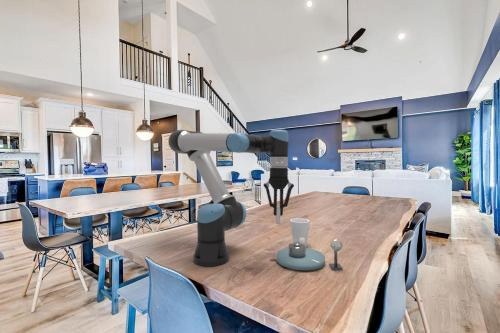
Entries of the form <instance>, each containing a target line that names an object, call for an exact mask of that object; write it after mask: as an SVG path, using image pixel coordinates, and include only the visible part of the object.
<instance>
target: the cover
mask: <svg viewBox="0 0 500 333" xmlns="http://www.w3.org/2000/svg"><path fill="white" fill-rule="evenodd" d="M288 248H289V256H290V257H293V258H304V257H305V256H306V248H307V246H305V245H304V244H301V243H299V242H294V243H293V242H292V243H289V244H288Z"/></svg>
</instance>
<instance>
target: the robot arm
mask: <svg viewBox="0 0 500 333" xmlns="http://www.w3.org/2000/svg"><path fill="white" fill-rule="evenodd" d="M167 140H168V147H169V148H170V150H172V152H174V153H177V154H182V155H183V154H184V155H185V154H186V155H187V157H188V158H189V160H190V161H191V162H193V163H194V164H195V167H196V168H197V172H199V175H200V176H201V179H202V181H203V183H204V185H205V187H206V189H207V191H208V193H209V196H210V198H211V200H212V202H213V203H210V204H209V203H207V204H204V205H202V206H200V207H199V208H198V209H197V213H196V214H197V217H196V221H197V222H196V224H197V226H196V227H197V244H196V247H195V251H194V253H193V263H194V264H196V265H197V266H200V267H218V266H221V265H223V264H226V263H227V262H228V261H229V259H230V254H229V252H230V251H229V250H228V247H227V243H226V232H227V231H229V230H232V229H236V228H238V227H239V226H241V225H243V224H244V222H245V221H246V217H247V210H246V207H245V205H244V204H243V203H242V202H240V201H238V200H237V199H236V197H235V196H234V195H232V194H230V192H229V190H228V189H227V187H226V185H225V182H224V180H223V179H222V176H221V174H220V173H219V170H218V169H217V166H216V165H215V164H216V163H215V162H214V161H213V160H214V159H212V156H211V155H210V153H211V152H225V153H226V152H227V153H231V152H232V153H236V154H237V153H238V154H240V153H241V154H242V153H248V154H269V167H270V168H269V179H268V180H267V181H266V183H263V187H264V189H265V191H266V196H267V199H268V204H269V207H272V208H273V215H274V216H275V223H276V224H277V225H280V224H281V216H283V215H284V208H286V207H288V204H289V202H290V201H289V200H290V198H291V193H292V190H293V189H294V187H295V185H294V183H291V182H290V181H289V180H290V179H289V169H288V166H289V131H287V130H286V129H272V130H270V131H269V134H268V135H257V134H249V133H243V132H231V133H229V132H227V133H221V132H220V133H215V132H213V133H212V132H210V133H209V132H208V133H207V132H201V131H195V130H194V131H193V130H185V129H177V130H175V131H173V132H171V133H170V134H169V137H168V139H167ZM270 186H271V187H272V189H273V200H272V196H271V192H270V189H269V187H270ZM286 187H287V190H286V195H285V198H284V189H286ZM278 190H279V206H278Z"/></svg>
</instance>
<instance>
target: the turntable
mask: <svg viewBox="0 0 500 333" xmlns="http://www.w3.org/2000/svg"><path fill="white" fill-rule="evenodd" d="M299 243H301V244H304V245H305V238H299ZM276 262H277V263H278V264H279V265H281V266H283V267H285V268H287V269H291V270H297V271H313V270H318V269H321V268H322V267H324V266H325V263H326V256H325V254H324V253H322V252H321V251H319V250H315V249H312V248H309V247H306V256H305V257H304V258H293V257H290V256H289V247H285V248H282V249H279V250H278V251H277V252H276Z"/></svg>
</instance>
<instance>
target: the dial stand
mask: <svg viewBox="0 0 500 333" xmlns="http://www.w3.org/2000/svg"><path fill="white" fill-rule="evenodd" d="M330 247H331V249H332V250H333V260H334V261H333V263H328V267H329V268H330V269H331V271H343V267H342V265H341V264H340V263H338V252H339V251H341V250H342V249H343V242H342V241H341V240H340V239H337V238H335V239H332V241H331V242H330Z"/></svg>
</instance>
